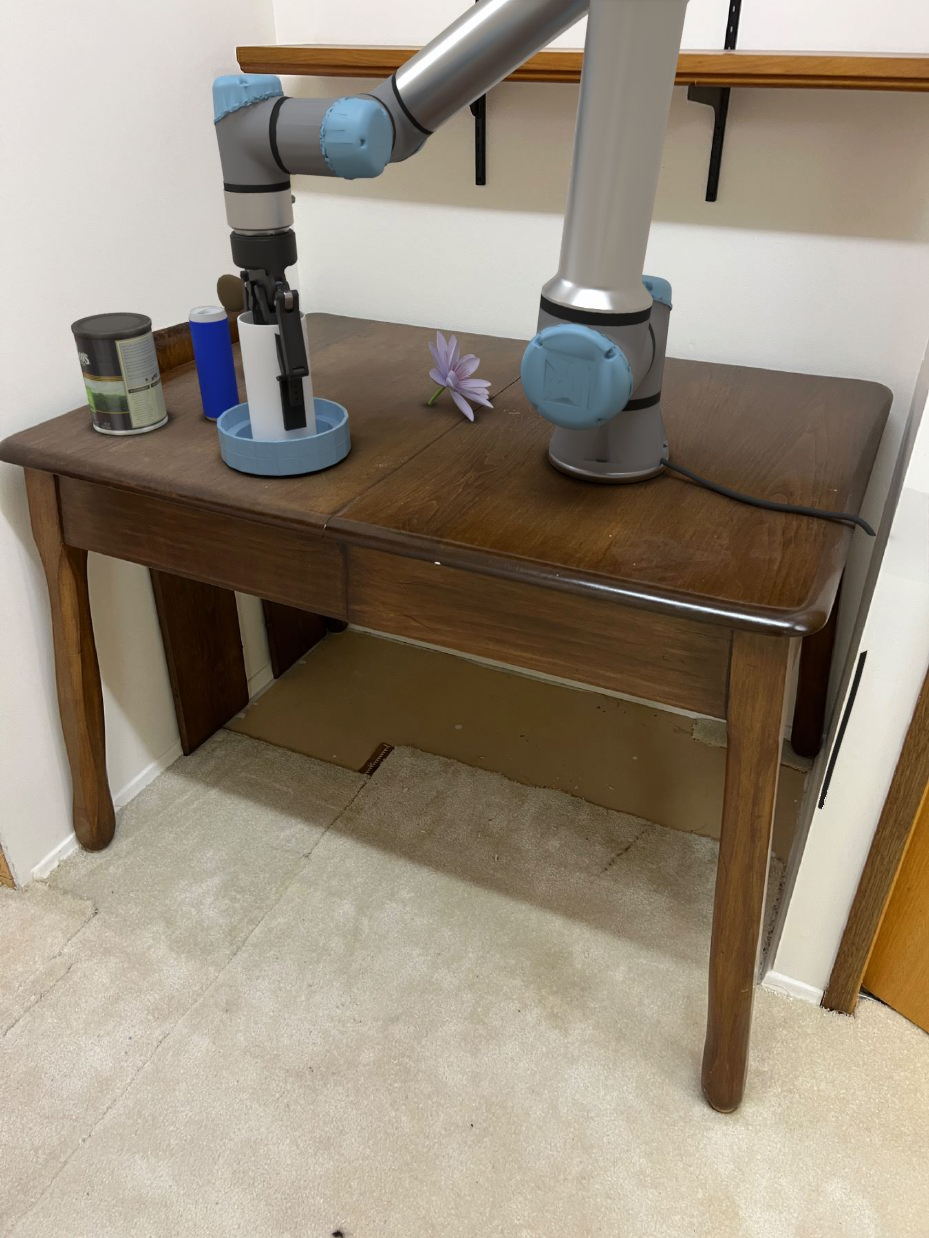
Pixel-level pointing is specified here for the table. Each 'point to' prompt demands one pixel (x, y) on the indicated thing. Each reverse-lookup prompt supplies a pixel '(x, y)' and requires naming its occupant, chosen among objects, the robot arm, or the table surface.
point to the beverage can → (214, 360)
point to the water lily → (457, 375)
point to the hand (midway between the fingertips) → (282, 417)
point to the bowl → (284, 442)
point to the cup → (270, 381)
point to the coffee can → (120, 372)
